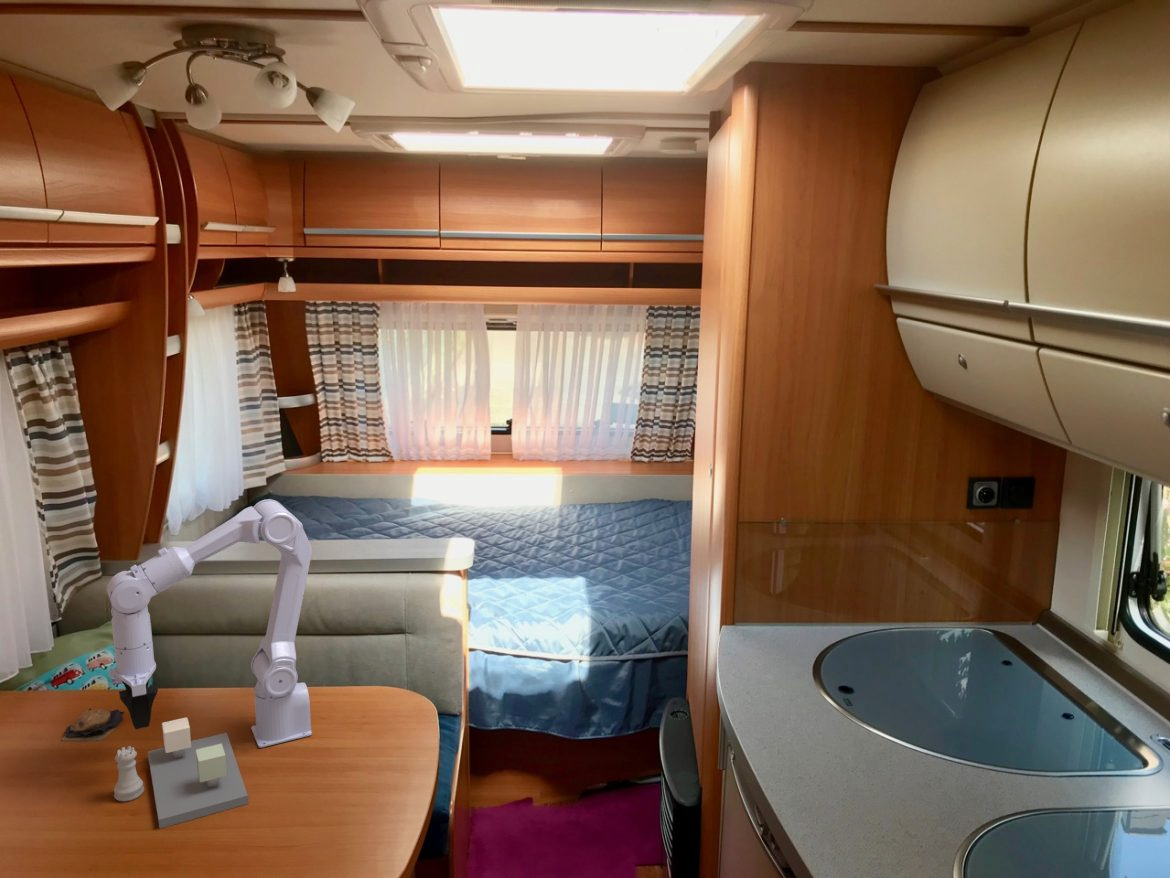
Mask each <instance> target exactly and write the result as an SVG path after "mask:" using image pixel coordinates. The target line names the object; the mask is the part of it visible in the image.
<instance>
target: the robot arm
mask: <svg viewBox="0 0 1170 878" xmlns="http://www.w3.org/2000/svg"><path fill="white" fill-rule="evenodd" d="M306 534H307V533H306V532H305V530H304V526H303V523H302V522H301V521H300V520H299V519H298V518H297V517H296V516H295V515H294V514H292V513H291V512H290V511H289V510H288V509H287V508H286V507H285V506H284V505H282V503H280V502H279V501H278V500H274V499H271V498H269V499H263V500H260V501H259V502H258V501H257V503H255V505H254V506H252V505H251V506H248V507H246V508H244V509H242V510H241V511H240V512H239V513H237V514H236V515H235V516H233V517H232V518H230V519H228V520H227V521H225V522H223V523H222V524H221V525H219V526H216V528H214V529H212V530H211V531H209V532H208V533H206V534H205V535H203V536H201V537H199V538H198V539H196V540H195V541H193V542H191V543H190V544H189V545H187V546H185V547H179V546H171V547H169V548H166V547H162V548H160V549H158V550H157V553H158V554H156V555H155V556H153V557H151V558H150V559H148V560H146V561H144V562H142V563H140V564H139V565H136V564H134V565H131V566H130V568H129V569H130V570H123V571H120V572H118V573H116V574H115V575H113V576H112V577H111V578H110V580H109V581H108V584H107V587H106V589H105V591H106V594H107V596H108V598H109V602H110V604H111V609H110V613H111V617H112V618H111V630H112V639H113V647H114V658H115V659H114V660H115V668H110V669H109V670H108V677H109V678H110V679H113V678H118V679H119V680H120V681H121V682H122V684H123V685H124V688H125V689H124V690H120V691H118V694H119V695H118V696H119V700H120V701H121V702H122V703H123V705H124V706H125V707H126V709H127V710H128V712H129V716H130V719H131V721H132V722H131V723H132V726H133V727H134V729H135V730H139V729H143V728H147V727H149V726H150V724H151V718H152V707H153V704H154V701H155V698H156V697H157V695H158V692H159V687H158V685H154V686H149V682H150V679H151V676H152V675H153V674H154V672H155V671H156V669H157V664H156V661H155V656H154V643H153V634H152V623H151V622H152V621H151V614H150V612H149V608H148V607H149V606H148V605H149V604H150V601H151V598H152V597H154V596H157V595H158V594H161V593H162V592H163V591H165V590H167V589H169V588H170V587H173V586H174V585H176V584H178V583H179V582H181V581H184V579H186V578H188V577H190V576H191V575H192V573H193V571H194V567H195V566H196V565H197V564H199V563H200V562H203V561H205V560H207V559H208V558H210V557H212V556H214V555H217V554H218V553H220V552H222V551H224V550H226V549H228V548H229V547H231V546H233V545H235V544H237V543H240V542H241V543H249V544H250V543H251V544H260V543H261V542H260V538H262V539H263V540H264V542H266V543H267V544H268V545H271V546H272V547H274V548H276V549H277V550H278V551H279V553H280V554H281V555H280V556H281V557H280V561H279V567H278V571H277V577H276V581H275V587H274V591H273V598H272V603H271V608H270V612H269V618H268V623H267V626H266V627H267V628H266V633H265V636H264V637H263V639H261V640H260V644H259V647H258V649H257V651H256V653H255V655H253V658H251V663H250V668H251V669H250V670H251V672H252V673H253V675H254V676H255V677H256V678H257V680H256V681H257V682H256V684H255V686H254V689H253V691H254V692H253V693H254V708H255V725H252V726H250V727H251V731H252V733H253V737H254V739H255V741H256V744H257V748H265V747H270V746H274V745H277V744H282V743H286V742H290V741H293V740H297V739H301V738H305V737H309V736H311V735H312V734H313V731H312V726H311V725H312V724H311V723H312V721H311V702H310V695H309V689H308V687H307V683H305V682H298V678H299V677H298V676H299V675H298V672H297V670H296V668H297V667H296V662H297V652H296V645H295V641H296V637H297V636H296V635H297V630H298V625H299V620H300V615H301V610H302V606H303V599H304V594H305V590H306V585H307V580H308V573H309V569H310V563H311V560H312V555H313V548H312V545H311V543H310V540H309V539H308V535H306Z"/></svg>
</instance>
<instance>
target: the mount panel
mask: <svg viewBox="0 0 1170 878" xmlns="http://www.w3.org/2000/svg"><path fill="white" fill-rule="evenodd" d="M217 744H222V746H223V749H224V752H225V758H226V773H227V776H223V777H219V778H216V779H212V780H208V781H204V782H200V780H199V776H198V772H197V762H196V750H197V749H201V748H205V747H209V746H213V745H217ZM147 758H148V759H147V760H148V765H149V771H150V772H149V773H150V777H151V779H150V780H151V784H152V789H153V790H152V791H153V797H154V803H155V809H156V816H157V822H158V828H159V829H164V828H166V827H170V826H174V825H177V824H181V823H185V822H188V821H191V820H192V821H193V820H195V819H198V818H202V817H206V816H210V815H214V814H216V813H219V812H220V813H221V812H224V811H228V810H232V809H234V808H239V807H241V806H245V805H249V795H248V793H247V789H246V786H245V783H244V780H243V776H242V774H241V772H240V771H241V770H240V768H239V765H238V762H237V760H236V757H235V753H234V750H233V747H232V744H231V741H230V739H229V735H228V733H227V732H224V733H223V732H222V733H220V734H216V735H211V736H207V737H203V738H200V739H199V738H198V739H194V740H191V747H190V748H185V749H181V750H177V751H173V752H169V753H166V752H165V747H161V748H157V749H151V750H148V751H147Z"/></svg>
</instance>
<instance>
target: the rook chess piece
mask: <svg viewBox="0 0 1170 878" xmlns="http://www.w3.org/2000/svg"><path fill="white" fill-rule="evenodd" d="M137 755H138V752H137V751H136V750H135V747H134V746H131V745H129V746H127V748H126V747H125V746H123V747H121V749H118V750H117V751H116V755H115V756H114V760H115V761H116V762H117V764H116V768H117V769H118V776H117V777H118V780H117V781H116V784H115V786H114V787H113V788H114V789H113V792H114V793H113V797H114V799H116V800H117V801H119V802H122V803H123V802H126V803H127V802H131V801H133V800H136V799H137V798H139V797H140V796H141V795H142V794H143V793H144V791H145V787H144V782H143V780H142V779H141V777H140V775H138V771H137V769H136V764H137V760H135V758H136V756H137Z"/></svg>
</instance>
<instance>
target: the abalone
mask: <svg viewBox="0 0 1170 878" xmlns="http://www.w3.org/2000/svg"><path fill="white" fill-rule="evenodd" d="M124 714H125V711H120V710H119V709H114V710H110V711H108V710H106V709H102V708H93V709H91V708H88V709H87V710H86V711H84V712H82V713H81V714H79V716H78V717H77V718H76V719H75V721H74V722H73V724H70V725H68V726H67V727H66V729H65V733H64V736H63V737H62V738H61V742H102V740H104V739H105V738H107V736H108V735H110V733H112V732H113V731H114V730H115V729H116V728H117V727H118V726H119V724H120V723H121V722H122V721H123V719H124V717H123V715H124Z"/></svg>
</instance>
